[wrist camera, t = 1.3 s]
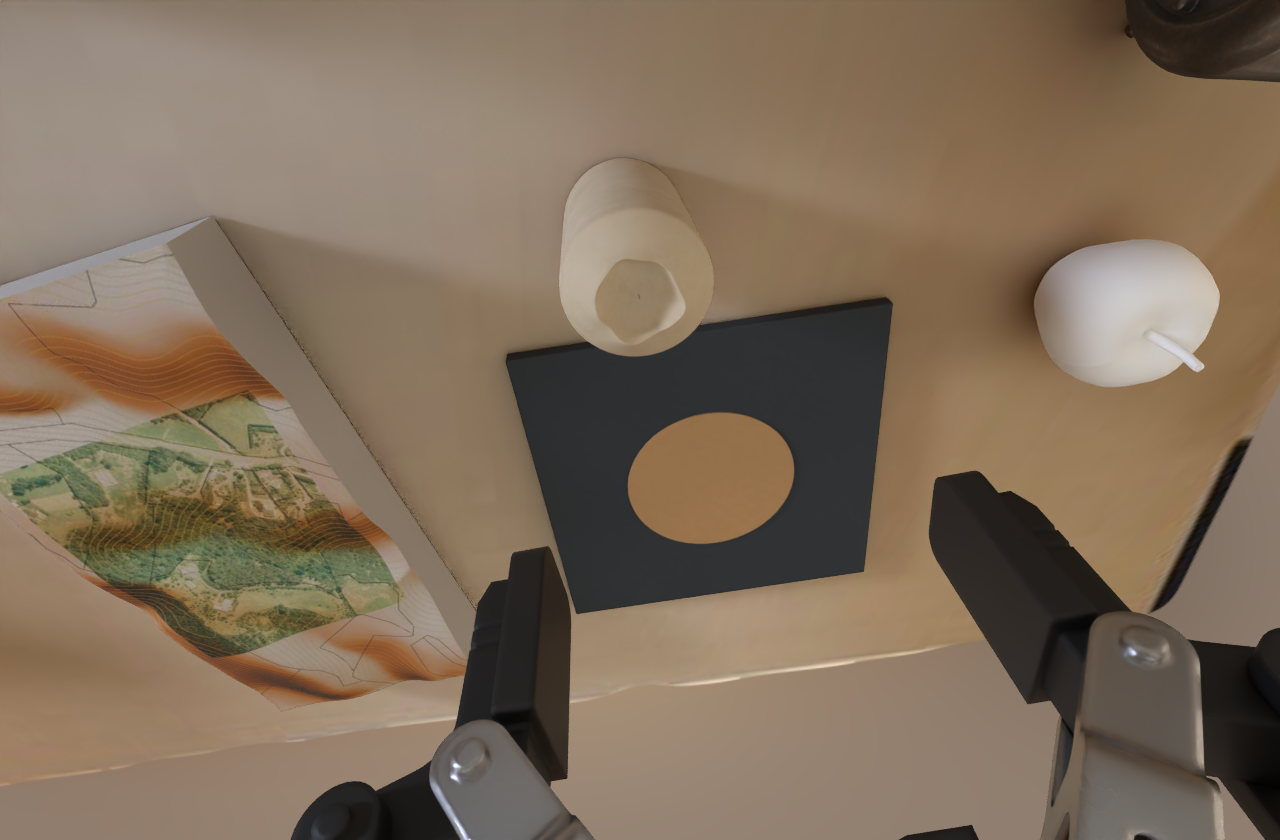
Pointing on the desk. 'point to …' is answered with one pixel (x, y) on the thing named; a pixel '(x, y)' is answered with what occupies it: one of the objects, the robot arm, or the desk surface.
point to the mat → (710, 454)
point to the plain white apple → (1125, 311)
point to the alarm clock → (1209, 37)
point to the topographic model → (214, 475)
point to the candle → (632, 261)
